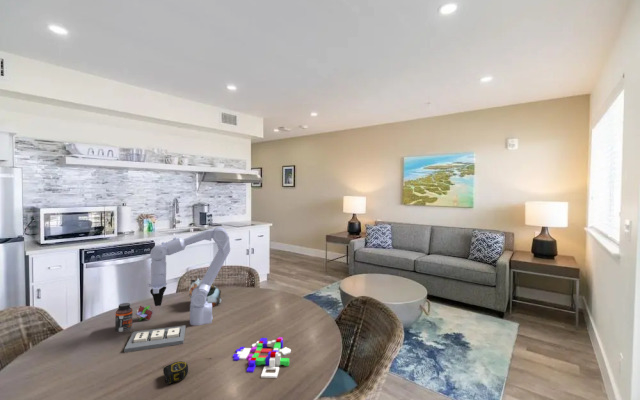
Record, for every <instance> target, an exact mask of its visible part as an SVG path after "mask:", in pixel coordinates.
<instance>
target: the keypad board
mask: <svg viewBox="0 0 640 400" xmlns="http://www.w3.org/2000/svg"><path fill="white" fill-rule="evenodd" d="M172 328H180V333H179V337H175V338H168V339H167V333H168V329H172ZM163 329H164V338H163V339H160V340H153V341H150V339H151V335H152V332H153V331H155V330H163ZM148 331H149V338H148V340H147V341H146V342H139V343H134V338H135V336H136V334H137V333H141V332H148ZM185 332H186V325H185V324H184V325H176V326H168V327H159V328H152V329H145V330H144V329H143V330H138V331H133V332H132V333H131V335H130V338H129V340H128V341H127V343H126V346H125V347H124V350H123V351H124V353H130V352H131V353H132V352H138V351H145V350H151V349H152V350H153V349H158V348H165V347H171V346H178V345H184V340H185Z"/></svg>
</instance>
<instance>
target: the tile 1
mask: <svg viewBox="0 0 640 400" xmlns="http://www.w3.org/2000/svg"><path fill="white" fill-rule="evenodd" d="M164 337H165V335H164V329H163V330H155V331H153V332H152V335H151V339H150V341H153V340H160V339H164Z"/></svg>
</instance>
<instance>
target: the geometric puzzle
mask: <svg viewBox="0 0 640 400" xmlns="http://www.w3.org/2000/svg"><path fill="white" fill-rule="evenodd" d="M150 308H151V309H150ZM152 309H153V308H152V306H151V304H149V305H148V306H147V305H146V306H145V305H140V306H139V307H138V308H137V311H136V313H135V315H136V317H138V316H139V317H140V318H139V319H138V322H141V321H144V320H147V321H150V320H151V318H152V316H153V314H154V311H153V310H152Z"/></svg>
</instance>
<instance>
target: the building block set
mask: <svg viewBox="0 0 640 400" xmlns="http://www.w3.org/2000/svg"><path fill="white" fill-rule="evenodd" d="M283 338H284V337H281V336H278V338H276V339H272V340H268V338H267V337H260V339H259V340H257V341H256V343H252V344H251V347H245V346H240V347H239V348H237V349H236V350H235V353H233V355H232V359H233V361H237V362H239V360H247V365H248V366H247V368H246V373H254V371H255V369H256V366H261V365H265V366H264V367H263V369H262V371H261V374H260V379H261V378H262V379H263V378H265V379H277V378H278V375H279V371H280V367H281V366H282V365H283V366H284V367H289V366H290V357H282V355H283V356H286V355H289V354H291V351H292V349H291V348H289V347H287V346H285V347H284V339H283ZM262 354H263V355H262ZM264 354H267V355H264ZM267 371H275V372H267Z"/></svg>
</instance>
